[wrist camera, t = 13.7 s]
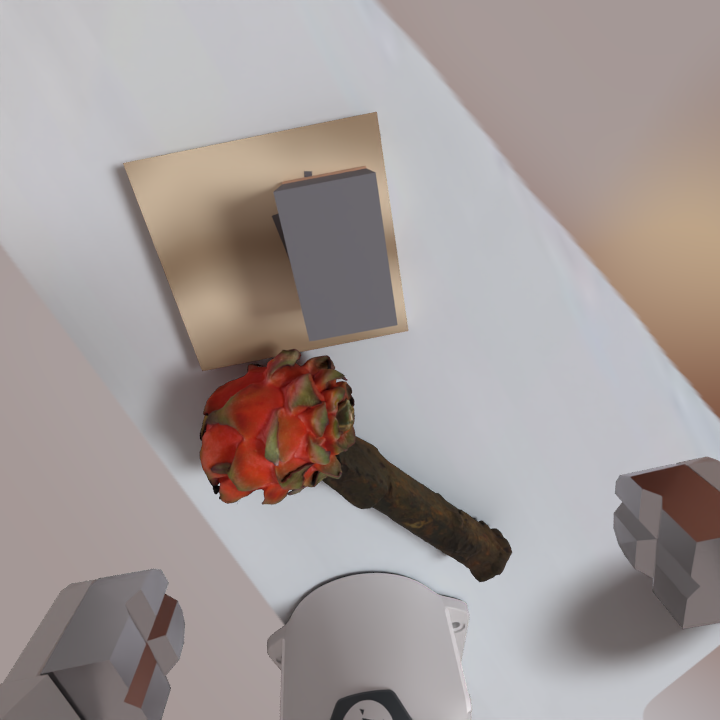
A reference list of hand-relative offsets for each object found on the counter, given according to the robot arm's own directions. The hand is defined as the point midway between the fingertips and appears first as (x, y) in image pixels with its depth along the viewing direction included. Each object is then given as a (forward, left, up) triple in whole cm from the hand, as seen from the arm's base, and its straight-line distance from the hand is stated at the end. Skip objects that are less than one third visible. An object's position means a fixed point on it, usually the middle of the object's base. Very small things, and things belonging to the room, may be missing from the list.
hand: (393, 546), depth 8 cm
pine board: (+2, +3, -21) cm, 21 cm away
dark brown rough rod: (-18, -1, -21) cm, 28 cm away
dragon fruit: (-8, +6, -21) cm, 23 cm away
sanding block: (+2, 0, -20) cm, 20 cm away
